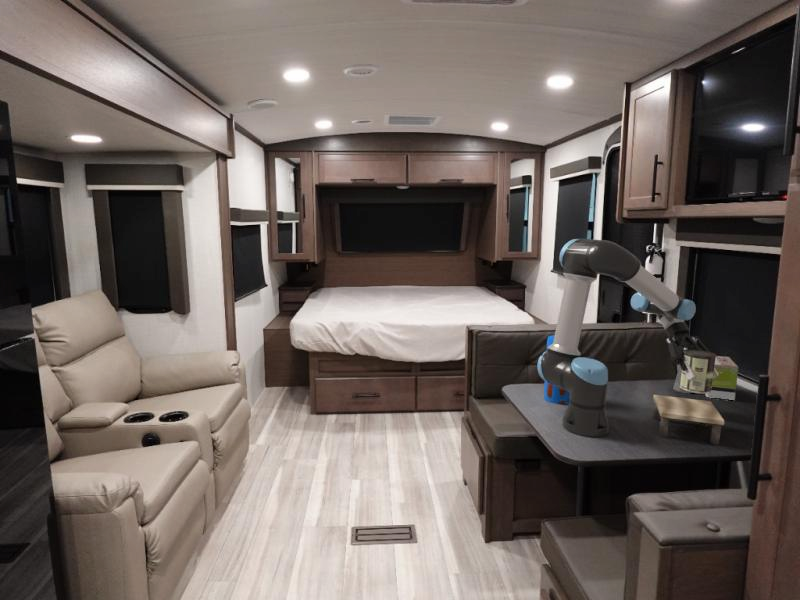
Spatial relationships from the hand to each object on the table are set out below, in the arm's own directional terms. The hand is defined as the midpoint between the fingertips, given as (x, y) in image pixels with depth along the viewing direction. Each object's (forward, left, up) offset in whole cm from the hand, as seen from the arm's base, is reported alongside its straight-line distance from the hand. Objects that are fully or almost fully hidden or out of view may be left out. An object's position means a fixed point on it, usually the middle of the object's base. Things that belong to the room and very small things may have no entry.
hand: (703, 377), depth 181 cm
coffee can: (-2, +2, -6) cm, 6 cm away
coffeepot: (+1, +30, -15) cm, 34 cm away
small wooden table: (-8, -17, -15) cm, 24 cm away
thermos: (-50, -2, -15) cm, 52 cm away
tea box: (+12, +29, -15) cm, 35 cm away
